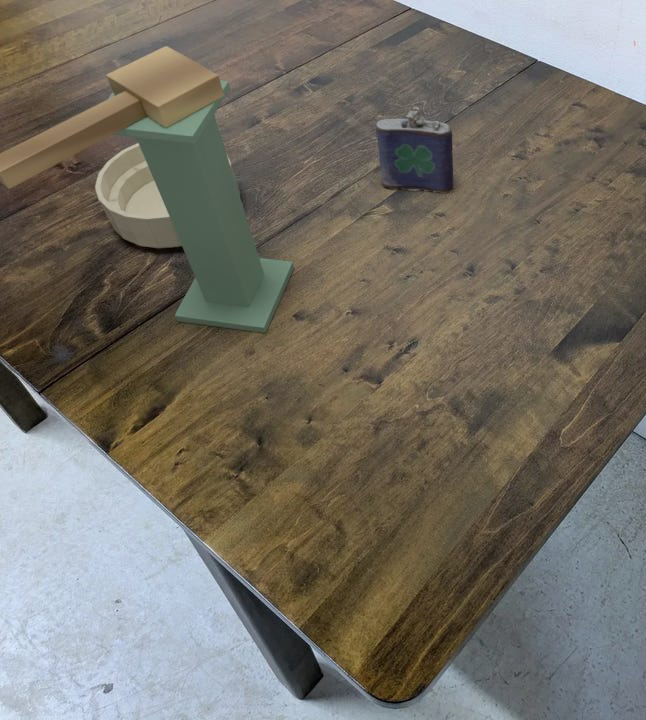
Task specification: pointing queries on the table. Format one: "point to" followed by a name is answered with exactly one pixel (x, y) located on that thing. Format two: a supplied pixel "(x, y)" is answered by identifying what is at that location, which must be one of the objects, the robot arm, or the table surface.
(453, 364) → the table surface
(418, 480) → the table surface
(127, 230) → the bowl
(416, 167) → the flask
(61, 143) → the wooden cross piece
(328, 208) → the table surface
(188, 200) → the pedestal stand
